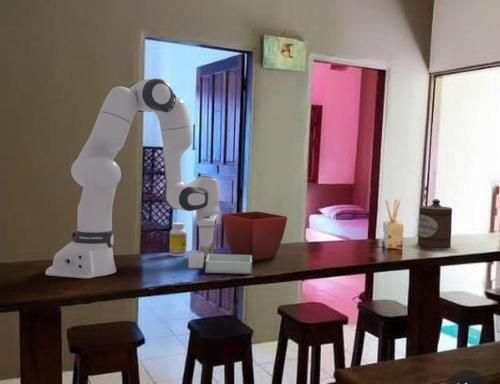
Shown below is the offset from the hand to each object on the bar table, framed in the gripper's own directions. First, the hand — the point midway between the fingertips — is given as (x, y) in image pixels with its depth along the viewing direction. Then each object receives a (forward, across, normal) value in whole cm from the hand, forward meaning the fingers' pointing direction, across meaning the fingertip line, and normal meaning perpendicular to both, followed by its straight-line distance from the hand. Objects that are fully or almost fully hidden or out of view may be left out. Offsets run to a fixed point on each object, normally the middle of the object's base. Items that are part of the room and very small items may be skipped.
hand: (206, 254), depth 202 cm
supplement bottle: (+2, -8, -12) cm, 15 cm away
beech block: (+2, 0, 0) cm, 2 cm away
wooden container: (+3, -49, +105) cm, 116 cm away
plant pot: (+3, -9, +18) cm, 20 cm away
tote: (+2, +14, +9) cm, 17 cm away
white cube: (+2, +11, -3) cm, 12 cm away
